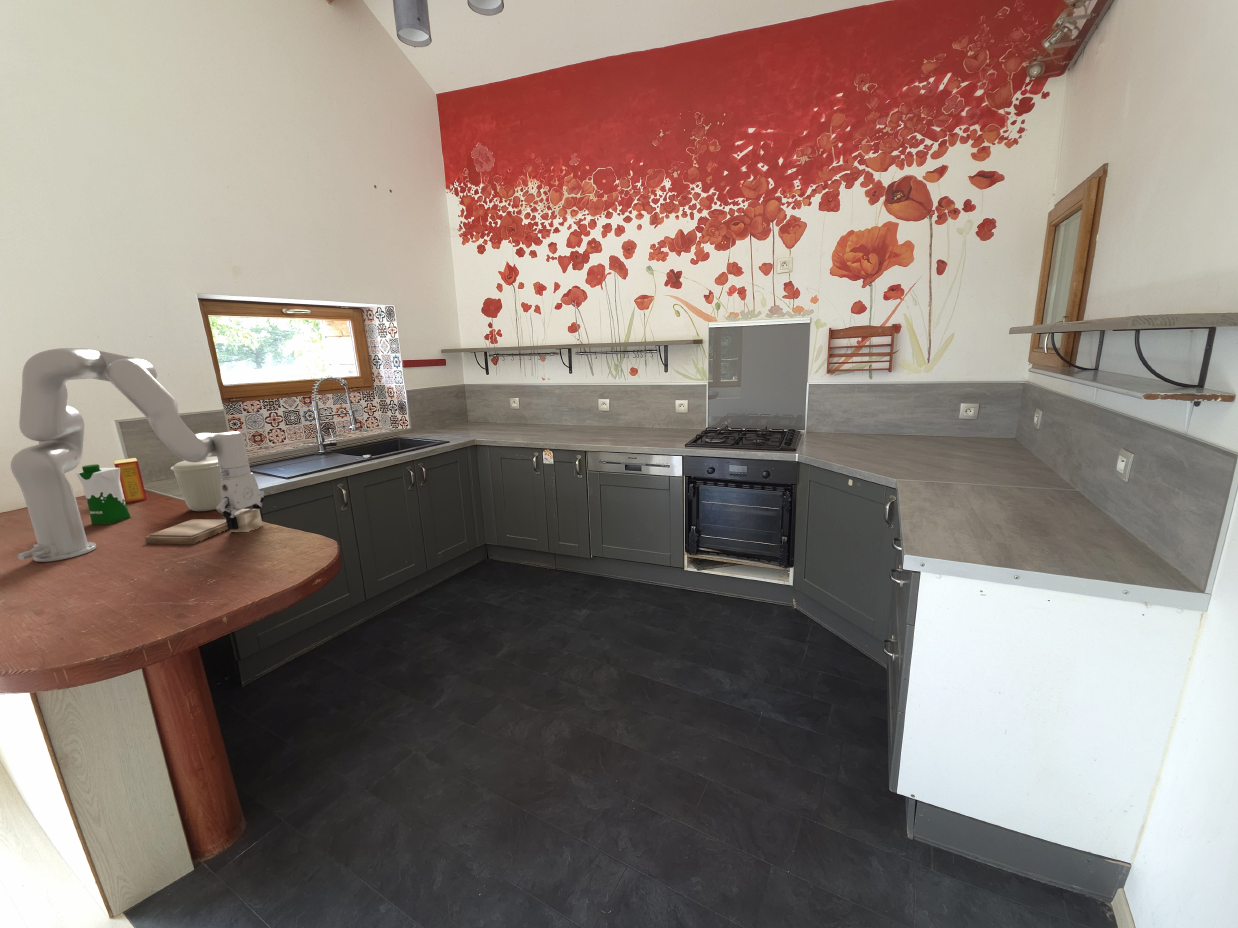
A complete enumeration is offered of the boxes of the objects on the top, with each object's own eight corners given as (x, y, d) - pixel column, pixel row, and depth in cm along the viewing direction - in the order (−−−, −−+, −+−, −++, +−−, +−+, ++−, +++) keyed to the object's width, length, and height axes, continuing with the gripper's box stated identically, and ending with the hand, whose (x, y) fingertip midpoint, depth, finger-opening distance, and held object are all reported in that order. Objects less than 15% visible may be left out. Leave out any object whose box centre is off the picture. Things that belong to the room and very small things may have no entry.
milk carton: (86, 525, 178) (70, 467, 173) (113, 516, 186) (99, 461, 182) (109, 525, 177) (94, 467, 172) (136, 516, 185) (122, 461, 181)
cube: (247, 533, 165) (244, 514, 164) (230, 532, 166) (226, 514, 164) (262, 526, 171) (259, 509, 169) (246, 526, 172) (242, 508, 170)
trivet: (193, 544, 156) (191, 536, 156) (146, 543, 159) (144, 535, 158) (237, 525, 172) (236, 518, 171) (194, 525, 174) (192, 518, 173)
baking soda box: (122, 499, 209) (112, 459, 206) (144, 495, 214) (135, 456, 210) (124, 503, 203) (114, 463, 199) (146, 499, 207) (137, 459, 204)
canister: (209, 516, 183) (196, 456, 179) (167, 514, 187) (153, 456, 182) (253, 500, 201) (243, 446, 196) (214, 499, 204) (203, 446, 200)
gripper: (222, 478, 155) (234, 533, 159) (267, 465, 172) (277, 515, 176) (199, 478, 156) (212, 533, 160) (247, 465, 173) (257, 515, 177)
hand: (246, 523), depth 168 cm, fingers open, 9 cm apart
